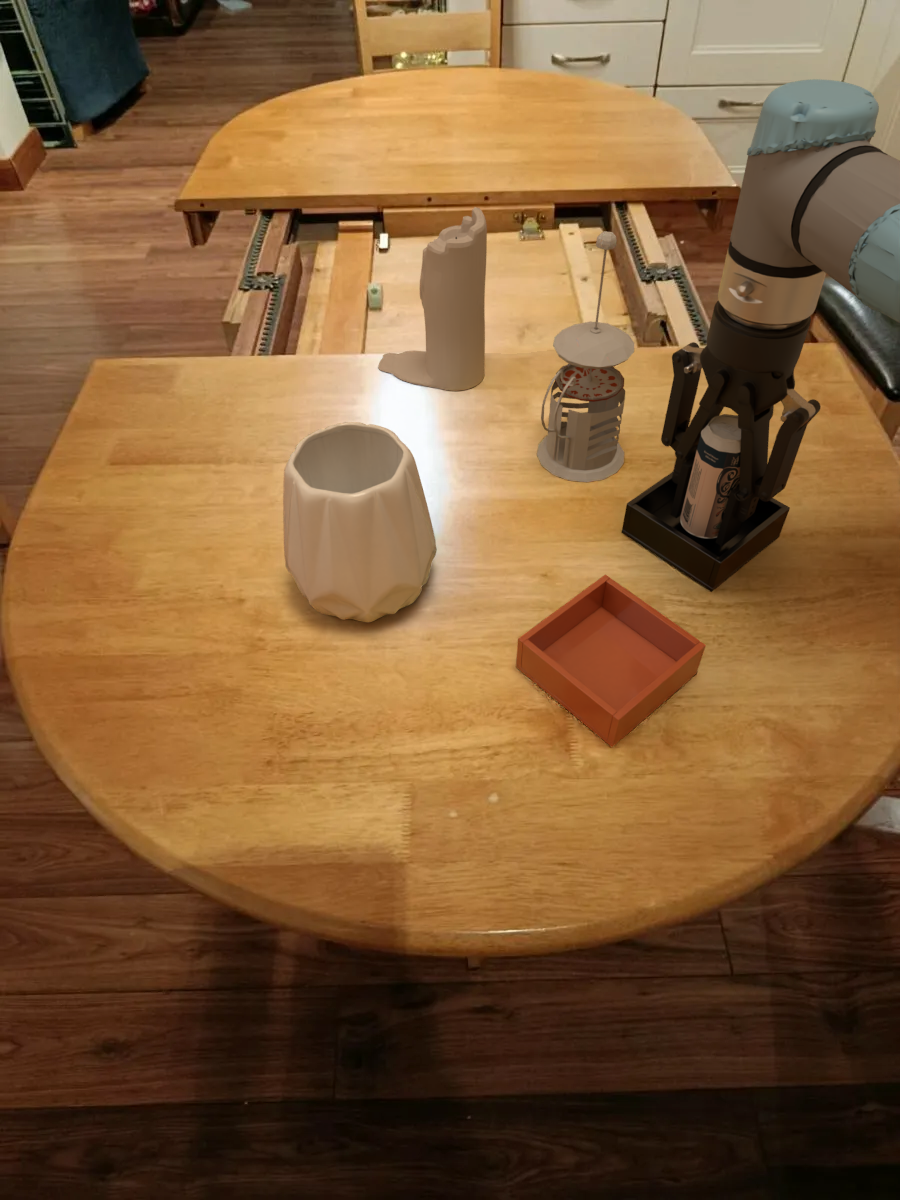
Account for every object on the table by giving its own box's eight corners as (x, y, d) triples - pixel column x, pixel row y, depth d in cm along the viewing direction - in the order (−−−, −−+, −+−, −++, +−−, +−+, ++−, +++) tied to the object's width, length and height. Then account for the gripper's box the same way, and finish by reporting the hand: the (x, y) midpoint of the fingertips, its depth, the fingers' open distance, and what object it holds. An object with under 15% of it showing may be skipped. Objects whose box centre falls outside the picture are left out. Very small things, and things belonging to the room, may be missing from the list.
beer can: (718, 548, 82) (748, 449, 74) (671, 531, 84) (695, 432, 75) (734, 520, 85) (765, 421, 76) (689, 504, 87) (714, 405, 78)
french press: (642, 451, 95) (684, 230, 76) (578, 502, 89) (607, 277, 71) (572, 416, 100) (596, 199, 81) (508, 463, 94) (517, 241, 75)
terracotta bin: (696, 673, 74) (706, 645, 71) (612, 747, 69) (618, 720, 66) (600, 603, 80) (605, 574, 77) (515, 667, 75) (517, 638, 72)
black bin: (779, 537, 85) (790, 507, 82) (711, 592, 81) (720, 563, 78) (689, 484, 91) (697, 454, 88) (621, 532, 86) (626, 503, 83)
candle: (389, 346, 110) (377, 188, 95) (491, 364, 107) (495, 203, 92) (368, 376, 106) (352, 215, 91) (474, 395, 103) (475, 232, 88)
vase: (330, 659, 76) (306, 536, 65) (269, 563, 84) (238, 439, 73) (464, 598, 81) (463, 474, 69) (394, 513, 89) (383, 389, 77)
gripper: (645, 283, 70) (610, 497, 87) (839, 371, 61) (757, 590, 78) (701, 254, 73) (657, 466, 91) (892, 333, 64) (803, 552, 82)
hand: (704, 523), depth 84 cm, fingers closed on beer can, 5 cm apart
